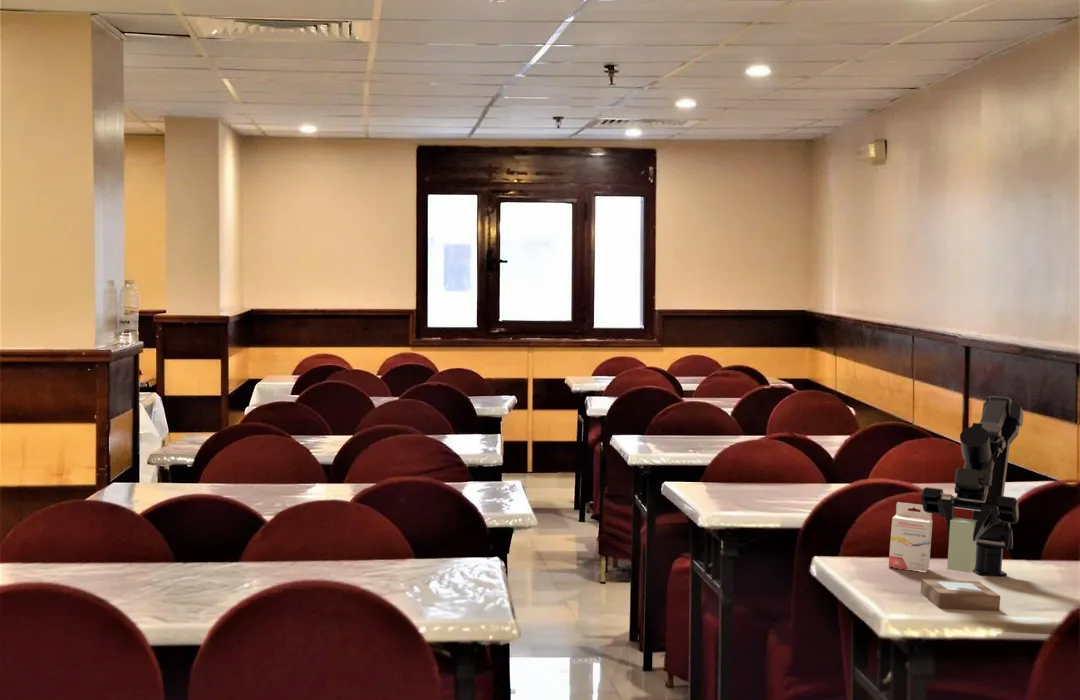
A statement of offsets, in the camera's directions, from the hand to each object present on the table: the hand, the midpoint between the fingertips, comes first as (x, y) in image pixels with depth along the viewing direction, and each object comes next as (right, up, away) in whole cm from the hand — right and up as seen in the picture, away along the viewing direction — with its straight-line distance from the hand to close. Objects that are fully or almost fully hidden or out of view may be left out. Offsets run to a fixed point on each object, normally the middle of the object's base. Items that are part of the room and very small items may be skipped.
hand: (961, 537), depth 245 cm
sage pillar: (0, -7, +2) cm, 7 cm away
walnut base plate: (0, -13, +2) cm, 13 cm away
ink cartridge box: (-1, -12, +31) cm, 34 cm away
